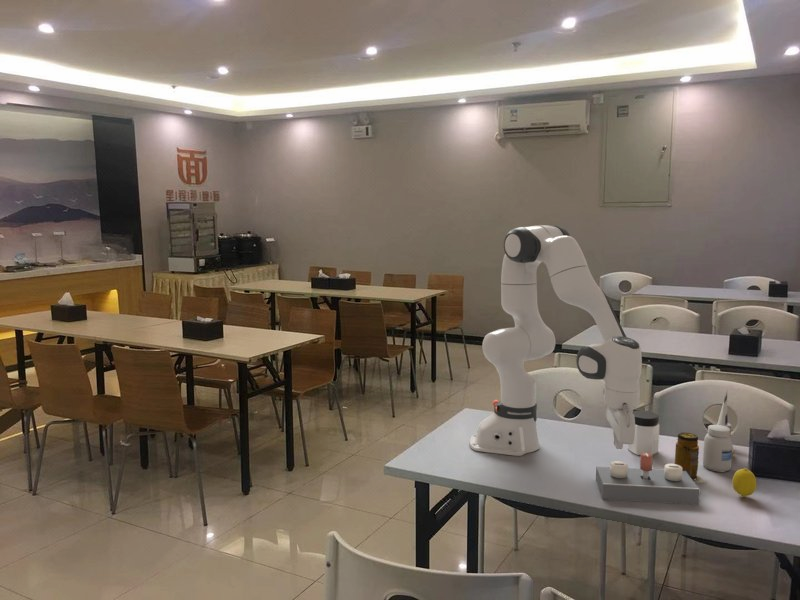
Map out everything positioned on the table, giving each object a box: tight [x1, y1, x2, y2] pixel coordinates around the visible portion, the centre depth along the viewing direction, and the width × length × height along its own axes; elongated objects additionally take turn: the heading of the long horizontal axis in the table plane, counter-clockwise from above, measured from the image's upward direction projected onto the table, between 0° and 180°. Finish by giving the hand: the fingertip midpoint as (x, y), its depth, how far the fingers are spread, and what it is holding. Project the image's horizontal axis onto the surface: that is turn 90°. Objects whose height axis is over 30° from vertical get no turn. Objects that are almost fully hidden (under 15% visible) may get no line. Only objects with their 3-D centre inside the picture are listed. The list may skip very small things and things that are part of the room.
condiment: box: [674, 431, 706, 484], centre depth 182 cm, size 7×8×12 cm
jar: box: [627, 410, 660, 456], centre depth 201 cm, size 9×8×12 cm
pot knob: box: [639, 453, 654, 480], centre depth 172 cm, size 3×3×8 cm
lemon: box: [732, 467, 757, 498], centre depth 169 cm, size 6×6×8 cm
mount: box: [595, 466, 700, 505], centre depth 173 cm, size 24×12×4 cm, turn 82°
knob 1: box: [609, 460, 629, 478], centre depth 173 cm, size 4×4×7 cm
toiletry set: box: [702, 388, 735, 473], centre depth 194 cm, size 25×8×21 cm, turn 148°
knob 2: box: [663, 463, 682, 481], centre depth 171 cm, size 4×4×7 cm
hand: (617, 446), depth 173 cm, fingers closed
